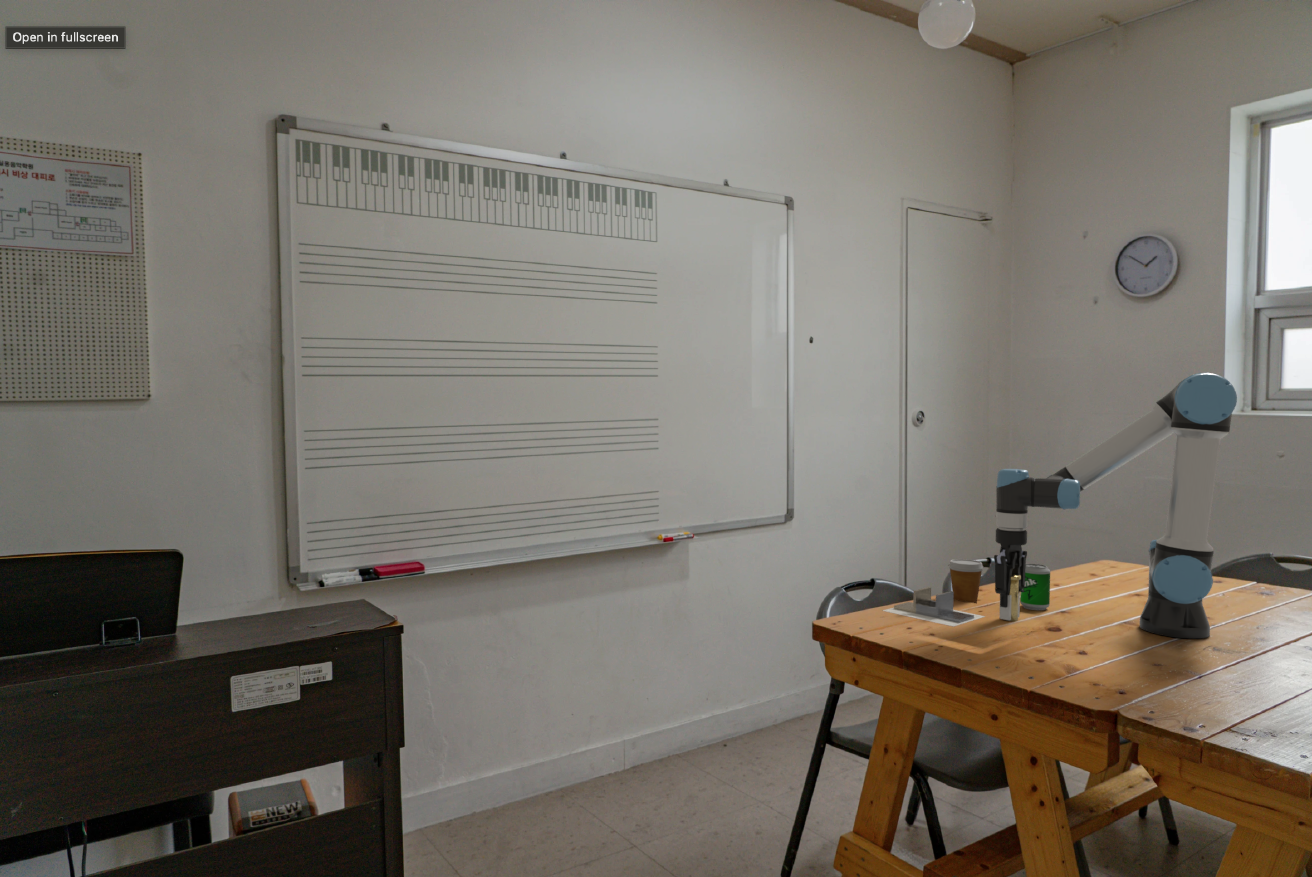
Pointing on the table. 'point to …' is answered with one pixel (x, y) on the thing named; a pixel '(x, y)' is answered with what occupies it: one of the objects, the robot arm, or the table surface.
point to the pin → (1014, 597)
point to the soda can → (1036, 587)
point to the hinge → (934, 606)
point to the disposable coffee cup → (965, 579)
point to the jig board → (931, 619)
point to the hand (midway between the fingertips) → (1009, 617)
